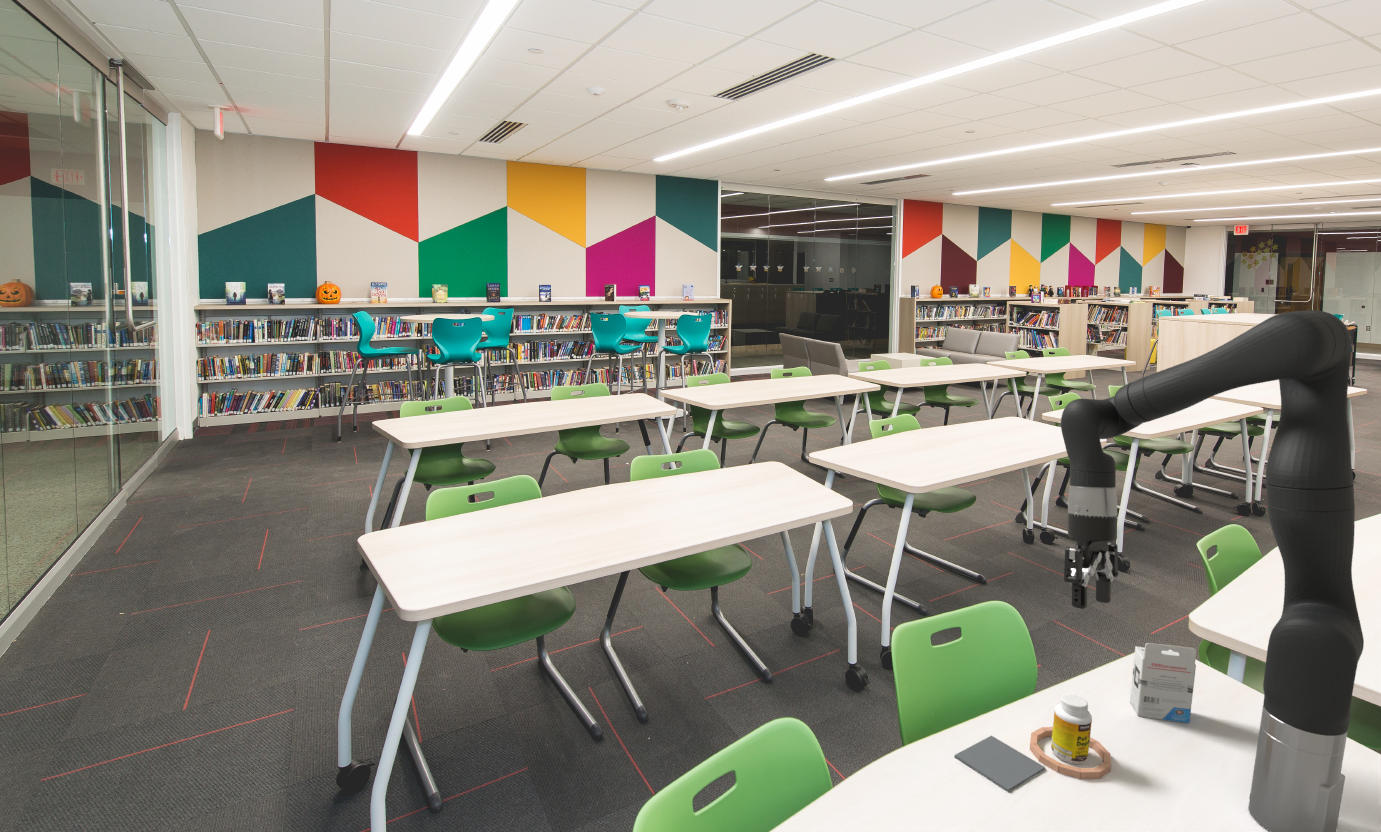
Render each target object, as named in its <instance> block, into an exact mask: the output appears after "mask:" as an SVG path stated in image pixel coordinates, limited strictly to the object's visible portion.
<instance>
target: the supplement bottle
mask: <svg viewBox="0 0 1381 832" xmlns="http://www.w3.org/2000/svg"><path fill="white" fill-rule="evenodd" d="M1092 721H1093V716H1092V714H1091V712H1090V711H1089V703H1088V701H1087V699H1085V698H1084V697H1082V696H1080V695H1078V694H1073V693H1065V694H1062V695H1061V697H1060V702H1059V703H1058V704H1056V705H1055V707H1054V712H1053V723H1052V724H1053V725H1052V727H1053V733H1052V737H1051V744H1050V745H1051V746H1050V747H1051V751H1052V753H1053V754H1054V755H1055V756H1056V757H1057V758H1058V759H1059V760H1061V761H1063V762H1065V763H1069V764H1072V765H1073V764H1074V765H1075V764H1076V765H1078V764H1079V765H1080V764H1083V763H1085V762H1087V760H1088V758H1089V751H1090V747H1089V742H1090V737H1091V730H1092V723H1093V722H1092Z"/></svg>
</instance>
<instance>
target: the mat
mask: <svg viewBox="0 0 1381 832" xmlns="http://www.w3.org/2000/svg"><path fill="white" fill-rule="evenodd" d="M954 758H955V759H957V760H958V761H959V762H961V763H962V764H964V765H965V766H967V767H969V768H970V769H972V770H973V771H975V772H977V774H980V775H981V776H983V777H984V778H985V779H987V780H989V781H991V782H992V783H993V784H995V785H996V786H998V787H1000V788H1001V789H1002V790H1004V791H1005V792H1007V793H1009V792H1010V791H1012V790H1013V789H1015V788H1017V787H1019V786H1020V785H1022V784H1023V783H1025V782H1026V781H1029V780H1031V779H1033V777H1035V776H1037V775H1038V774H1040V773H1042V772H1043V771H1045V770H1046V767H1045V765H1042V763H1040V762H1038V761H1036V760H1034V759H1033V758H1030V757H1029V756H1027V755H1025V754H1023V753H1022V752H1020V751H1018V750H1017V749H1016V748H1013V747H1012V746H1010V745H1008V744H1007V743H1006V742H1003V741H1002V740H1000V739H999V738H996V737H995V736H993V735H990V736H987V737H985V738H984V739H982V740H980V741H979V742H977V743H976V742H975V743H974V744H973V745H971V746H969V747H967V748H965V749H963V750H961V751H960V752H957V753H956V754H954Z"/></svg>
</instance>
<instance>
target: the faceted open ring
mask: <svg viewBox="0 0 1381 832" xmlns="http://www.w3.org/2000/svg"><path fill="white" fill-rule="evenodd" d="M1052 733H1053V726H1043V727H1039V728H1038V729H1036V730H1033V732H1031V734H1030V741H1029V742H1030V743H1029V750H1030V752H1031V753H1032V755H1033V756H1034V757H1035V758H1036V759H1037V762H1038V763H1040V764H1041V765H1042V764H1043V766H1046V767H1048V769H1051V770H1052V771H1054V772H1056V773H1058V774H1062V775H1064V776H1068V777H1072V778H1076V779H1078V780H1089V779H1090V780H1094V779H1098V780H1099V779H1102V778H1103V777H1104V776H1106V775H1107V774H1109V773H1111V771H1112V769H1111V768H1112V757H1111V753H1110V752H1109V750H1108V749H1106V747H1105V746H1104V745H1102V744H1101V742H1099V741H1098V740H1096V739H1095V738H1092V737H1091V736H1090V742H1089V749H1093V751H1095V752H1096V754H1097V755H1098V756H1099V757H1100V758H1101V759H1102V763H1101V764H1099V765H1097V766H1096V767H1076V766H1072V765H1069V764H1065V763H1061V762H1059V761H1058V760H1056V759H1054V758H1052V757H1051V756H1049V755H1047V754H1046V753H1045V752H1044V751H1043V750H1042V749H1041V748H1040V746H1039V745H1038V742H1039V741H1040V740H1043V739H1044V738H1047V737H1049V738H1052Z"/></svg>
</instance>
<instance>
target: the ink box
mask: <svg viewBox="0 0 1381 832" xmlns="http://www.w3.org/2000/svg"><path fill="white" fill-rule="evenodd" d="M1144 644H1145V645H1144V647H1142V646H1134V657H1133V668H1132V676H1131V688H1130V696H1129V704H1130V706H1131V707H1132V709H1133V710H1134V712H1135V715H1137V716H1138V717H1141V718H1149V719H1154V720H1155V719H1156V720H1161V721H1162V720H1163V721H1170V722H1178V723H1185V724H1190V721H1191V713H1192V705H1193V697H1194V695H1193V694H1194V687H1195V679H1196V678H1195V677H1196V668H1197V665H1196V659H1197V649H1196V648H1195V647H1187V646H1179V645H1170V644H1161V643H1152V642H1147V643H1144Z"/></svg>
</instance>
